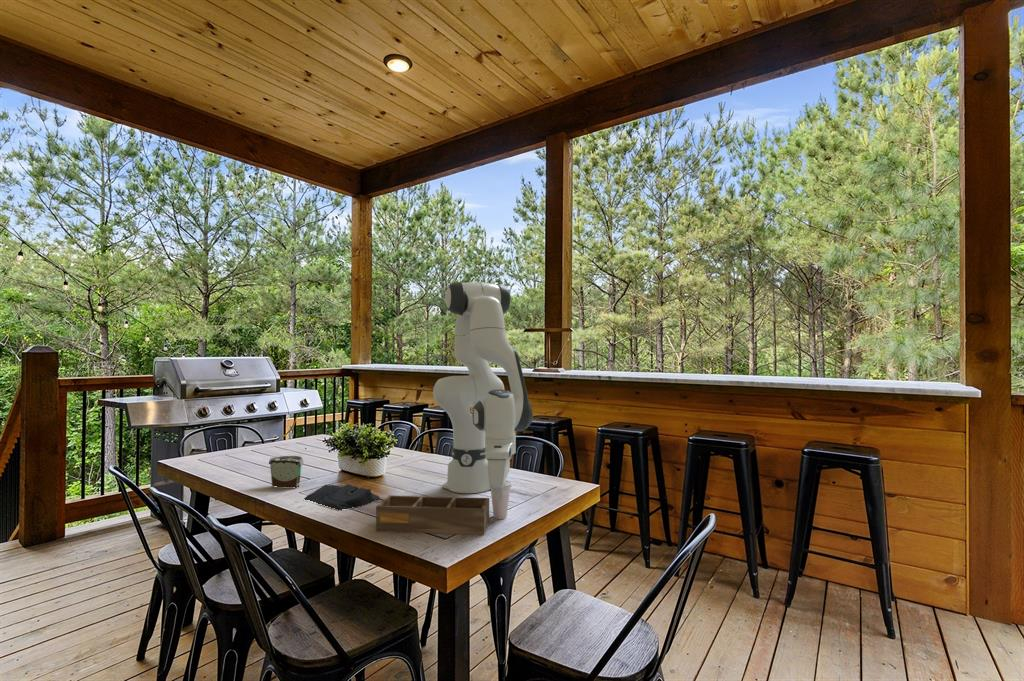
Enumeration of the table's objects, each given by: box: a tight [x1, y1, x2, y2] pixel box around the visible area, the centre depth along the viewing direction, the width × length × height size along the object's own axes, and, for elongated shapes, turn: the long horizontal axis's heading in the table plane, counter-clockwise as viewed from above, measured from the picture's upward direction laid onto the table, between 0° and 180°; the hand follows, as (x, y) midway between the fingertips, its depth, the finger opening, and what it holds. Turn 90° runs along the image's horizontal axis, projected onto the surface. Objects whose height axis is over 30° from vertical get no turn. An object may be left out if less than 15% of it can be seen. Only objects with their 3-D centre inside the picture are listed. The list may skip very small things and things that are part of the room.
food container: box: [268, 455, 304, 489], centre depth 176 cm, size 12×6×10 cm, turn 80°
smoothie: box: [489, 480, 512, 520], centre depth 142 cm, size 6×6×14 cm
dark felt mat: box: [303, 484, 380, 511], centre depth 159 cm, size 15×22×5 cm
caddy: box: [375, 495, 490, 536], centre depth 135 cm, size 10×29×6 cm, turn 85°
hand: (500, 495), depth 142 cm, fingers closed on smoothie, 6 cm apart
